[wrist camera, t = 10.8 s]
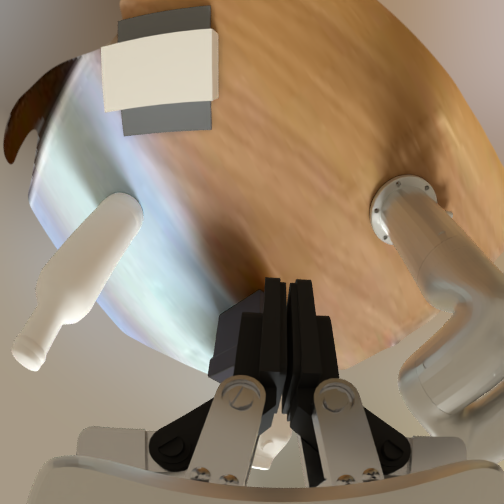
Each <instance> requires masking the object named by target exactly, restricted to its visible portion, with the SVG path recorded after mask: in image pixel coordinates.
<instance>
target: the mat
mask: <svg viewBox="0 0 504 504" xmlns="http://www.w3.org/2000/svg"><path fill="white" fill-rule="evenodd" d="M200 29H211V6H199V7H190V8H182V9H175V10H169V11H163V12H157V13H152V14H147V15H142V16H138V17H133V18H129V19H125V20H121V21H118V43H120V42H125V41H129V40H133V39H138V38H143V37H148V36H154V35H160V34H166V33H173V32H181V31H189V30H200ZM121 114H122V124H123V133H124V136H131V135H140V134H150V133H161V132H174V131H192V130H211V129H212V120H211V101H196V102H182V103H170V104H160V105H151V106H143V107H136V108H129V109H123V110H121Z"/></svg>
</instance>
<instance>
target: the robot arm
mask: <svg viewBox="0 0 504 504" xmlns="http://www.w3.org/2000/svg"><path fill="white" fill-rule="evenodd" d="M396 182H397V183H396ZM452 216H453V214H452V211H446V210H445V211H444V210H443V209H442V208H441V207H440V206H439V205H438V204H437V197H436V194H435V191H434V189H433V188H432V186H431V185H430V184H429V183H428V182H427V181H425V180H424V179H423V178H421V177H418V176H416V175H410V174H409V175H401V176H397V177H395V178H393V179H391V180H389V181H388V182H387V183H385V184H384V185H383V186H382V187H381V188H380V189H379V190H378V192H377V193H376V195H375V197H374V199H373V201H372V204H371V208H370V223H371V226H372V229H373V230H374V232H375V234H376V235H377V236H378V238H379V239H381V240H382V241H383V242H385V243H387V244H390V245H394V246H395V248H396V250H397V251H398V253H399V255H400V256H401V258H402V260H403V261H404V263H405V265H406V266H407V268H408V270H409V271H410V273H411V275H412V277H413V278H414V280H415V282H416V284H417V286H418V287H419V289H420V291H421V293H422V295H423V296H424V298H425V299H426V300H427V302H428V303H429V304H431V305H432V306H433V307H435V308H437V309H439V310H442V311H446V312H450V313H453V315H452V317H451V318H450V319H449V320H448V321H447V322H446V323H445V324H444V325H443V327H442V328H441V329H440V330H439V331H438V332H436V334H434V335H433V336H432V337H431V338H430V339H429V340H428V341H427V342H426V343H425V344H423V345H422V346H421V347H420V348H419V349H418V350H417V351H416V352H414V353H413V354H412V355H411V356H410V357H409V358H408V359H407V360H406V361H405V363H404V364H403V365H402V367H401V369H400V371H399V375H398V387H399V391H400V394H401V397H402V399H403V401H404V403H405V404H406V406H407V408H408V409H409V411H410V412H411V413H412V415H413V416H414V417H415V418H416V419H417V420H418V422H419V423H420V424H421V425H422V426H423V427H424V429H425V430H426V431H427V432H428V433H429V434H430V436H431V437H429V436H413V437H412V438H407V437H405V436H404V435H402V434H401V433H399V432H398V431H397V430H395V429H394V428H392V427H391V426H390V425H388V424H387V423H385V422H384V421H382V420H381V419H380V418H378V417H377V416H376V415H374V414H373V413H371V412H370V411H369V410H367V409H366V408H364V407H363V405H362V402H361V398H360V395H359V393H358V391H357V389H356V388H355V387H354V386H353V385H352V384H351V383H350V382H348V381H346V380H343V379H339V373H338V365H337V358H336V351H335V344H334V338H333V331H332V325H331V320H330V317H329V316H316V312H315V304H314V296H313V288H312V282H311V280H301V279H296V282H295V283H290V287H289V294H288V301H287V306H286V283H284V282H280V278H267V277H266V278H265V291H264V305H263V313H256V312H242V316H241V323H240V330H239V337H238V344H237V351H236V359H235V366H234V373H233V376H231V377H229V378H227V379H225V380H224V381H223V382H222V383H221V384H220V385H219V387H218V389H217V391H216V394H215V396H214V398H212V399H211V400H209V401H208V402H206V403H204V404H202V405H201V406H199V407H198V408H196V409H194V410H193V411H191V412H189V413H188V414H186V415H184V416H182V417H180V418H179V419H177V420H175V421H173V422H172V423H170V424H168V425H167V426H164V427H163V428H161V429H159V430H158V431H146V430H145V429H125V428H110V427H98V426H92V427H88V428H85V429H84V430H83V431H82V432H81V433H80V434H79V437H78V442H77V452H76V455H74V456H61V457H55V458H52V459H50V460H48V461H47V462H46V463H45V464H44V465H43V466H42V468H41V469H40V470H39V472H38V474H37V476H36V478H35V480H34V483H33V485H32V488H31V491H30V494H29V497H28V500H27V504H504V471H503V470H502V468H501V467H500V466H499V465H497V463H498V462H500V461H502V460H503V459H504V380H503V379H504V273H502V271H501V270H499V268H498V267H497V266H496V265H494V263H493V262H492V261H491V260H490V259H489V258H488V257H487V256H486V255H485V254H484V252H483V251H482V250H481V249H480V248H479V247H478V246H477V245H476V243H475V242H474V241H473V240H472V239H471V238H470V237H469V236H468V235H467V234H466V232H465V231H464V230H463V229H462V228H461V227H460V226H459V225H458V224H457V223H456V222H455V221H454V220H453V219H452ZM502 380H503V381H502ZM499 382H500V383H499ZM498 383H499V384H498ZM497 384H498V385H497ZM496 385H497V386H496ZM495 386H496V387H495ZM493 387H494V388H493ZM492 388H493V389H492ZM491 389H492V390H491ZM488 391H489V392H488ZM487 392H488V393H487ZM485 393H486V394H485ZM484 394H485V395H484ZM482 395H484V396H483V397H481V396H482ZM281 396H282V409H281V412H282V414H287V421H290V428H291V429H292V430H294V431H295V432H296V433H297V439H298V445H299V451H300V456H301V462H302V469H303V474H304V481H305V487H306V488H260V487H246V486H247V483H248V479H249V475H250V472H251V468H252V464H253V460H254V457H255V453H256V449H257V445H258V441H259V437H260V435H261V434H262V433H264V432H265V431H266V430H267V429H269V428H270V427H271V426H272V421H273V417H274V414H277V412H278V408H279V404H280V400H281ZM479 397H481V398H480V399H478V398H479ZM477 399H478V400H477Z"/></svg>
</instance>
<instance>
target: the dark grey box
mask: <svg viewBox="0 0 504 504" xmlns="http://www.w3.org/2000/svg"><path fill="white" fill-rule="evenodd" d="M263 305H264V292H262V291H261V290H258V291H256V292H255V293H253V294H252V295H250V296H249V297H247V298H246V299H244V300H242V301H241V302H239V303H238V304H236V305H235V306H233V307H232V308H230V309H228V310H227V311H225V312H224V313H222V314H221V315H220V316H219V321H218V328H217V335H216V342H215V349H214V355H213V358H211V359H210V364H209V371H208V377H210V378H211V379H213V380H215V381H217V382H219V383H222V382H223V381H224V380H225V379H227V378H229V377H231V376H233V373H234V366H235V359H236V351H237V344H238V337H239V330H240V323H241V316H242V312H256V313H263Z"/></svg>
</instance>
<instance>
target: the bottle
mask: <svg viewBox="0 0 504 504" xmlns="http://www.w3.org/2000/svg"><path fill="white" fill-rule="evenodd" d="M143 220H144V215H143V210H142V208H141V205H140V204H139V203H138V202H137V200H136V199H135V198H133V197H132V196H130V195H129V194H125V193H121V192H119V193H113V194H111V195H110V196H108V197H107V198H106V199H104V200H103V201H102V202H101V203H100V204H99V206H98V207H97V208H96V209H95V210H94V211H93V212H92V213H91V214H90V215H89V216H88V217H87V218H86V219H85V220H84V222H83V223H82V224H81V225H80V226H79V227H78V228H77V229H76V230H75V231H74V232H73V233H72V235H71V236H70V237H69V238H68V239H67V240H66V241H65V242H64V244H63V245H62V246H61V247H60V248H59V249H58V251H57V252H56V253H55V254H54V255H53V257H52V258H51V259H50V260H49V261H48V263H47V264H46V265H45V266H44V268H43V269H42V271H41V273H40V275H39V278H38V281H37V285H36V289H35V290H36V297H37V301H38V306H37V307H36V309H35V310H34V312H33V313H32V315H31V316H30V318H29V320H28V321H27V323H26V324H25V326H24V328H23V329H22V331H21V332H20V334H19V335H18V336H16V338H15V340H14V344H13V346H12V348H11V351H12V354H13V356H14V358H15V359H16V360H17V361H18V362H19V363H20V364H21V365H23V366H24V367H26V368H27V369H29V370H32V371H38V370H39V368H40V366H41V365H42V364H43V363H44V361H45V360H46V354H47V352H48V350H49V349H50V347H51V344H52V342H53V341H54V339H55V337H56V335H57V333H58V332H59V330H60V328H61V326H62V324H73V323H77V322H78V321H79V320H80V319H82V318H83V317H84V316H85V315H86V314H88V312H89V311H90V310H91V308H92V307H93V305H94V303H95V301H96V300H97V298H98V296H99V294H100V292H101V291H102V289H103V287H104V285H105V284H106V282H107V280H108V279H109V277H110V275H111V274H112V272H113V270H114V269H115V267H116V265H117V264H118V262H119V260H120V259H121V257H122V256H123V254H124V252H125V251H126V249H127V248H128V246H129V245H130V243H131V241H132V240H133V238H134V237H135V236H136V235H137V233H138V232H139V230H140V228H141V226H142V223H143Z"/></svg>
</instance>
